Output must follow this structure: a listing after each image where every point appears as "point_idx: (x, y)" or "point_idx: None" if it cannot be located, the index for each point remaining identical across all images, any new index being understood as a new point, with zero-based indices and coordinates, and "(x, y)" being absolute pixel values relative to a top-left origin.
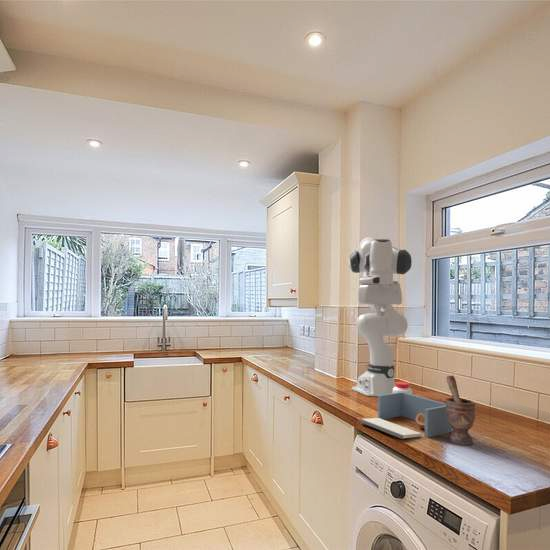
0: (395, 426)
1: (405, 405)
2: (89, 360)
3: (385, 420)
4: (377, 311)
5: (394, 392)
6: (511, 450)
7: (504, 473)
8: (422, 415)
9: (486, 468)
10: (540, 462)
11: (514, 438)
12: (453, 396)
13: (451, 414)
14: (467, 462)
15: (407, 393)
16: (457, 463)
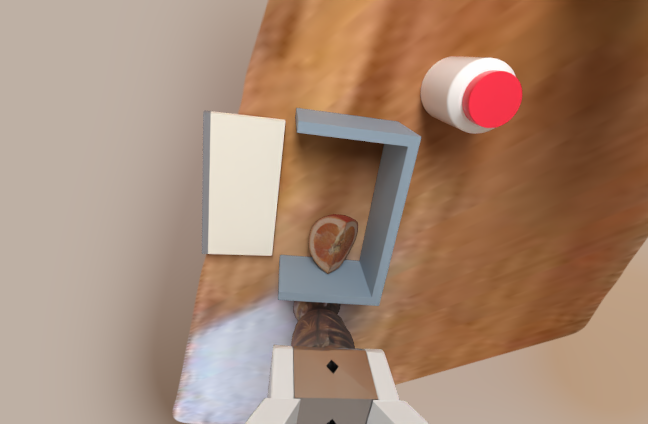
0: (255, 200)
1: (393, 151)
2: None
3: (281, 149)
4: (270, 412)
5: (447, 83)
6: None
7: (238, 393)
8: (337, 234)
9: (231, 375)
10: None
11: (422, 341)
12: None
13: (291, 344)
14: (227, 354)
15: (412, 164)
16: (207, 349)
